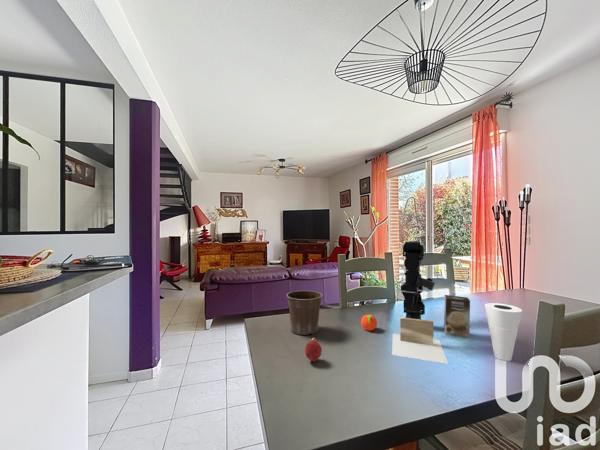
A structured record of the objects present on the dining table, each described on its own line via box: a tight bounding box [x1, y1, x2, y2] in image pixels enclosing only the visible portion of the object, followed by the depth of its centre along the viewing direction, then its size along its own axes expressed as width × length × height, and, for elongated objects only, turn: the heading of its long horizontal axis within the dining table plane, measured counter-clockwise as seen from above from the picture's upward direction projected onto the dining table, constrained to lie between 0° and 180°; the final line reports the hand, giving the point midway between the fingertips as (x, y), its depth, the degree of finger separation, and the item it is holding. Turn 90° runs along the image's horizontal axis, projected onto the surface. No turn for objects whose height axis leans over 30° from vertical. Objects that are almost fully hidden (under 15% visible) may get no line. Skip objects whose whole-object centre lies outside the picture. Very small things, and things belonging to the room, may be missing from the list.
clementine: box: [360, 314, 378, 332], centre depth 118 cm, size 8×7×7 cm
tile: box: [399, 316, 434, 345], centre depth 105 cm, size 2×12×9 cm, turn 70°
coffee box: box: [443, 294, 471, 339], centre depth 114 cm, size 9×6×16 cm
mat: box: [391, 333, 449, 365], centre depth 101 cm, size 20×18×1 cm
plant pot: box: [286, 290, 323, 336], centre depth 119 cm, size 16×16×16 cm
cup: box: [484, 302, 523, 362], centre depth 94 cm, size 11×11×18 cm
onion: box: [304, 337, 323, 362], centre depth 91 cm, size 6×6×8 cm
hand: (412, 308), depth 110 cm, fingers open, 9 cm apart
